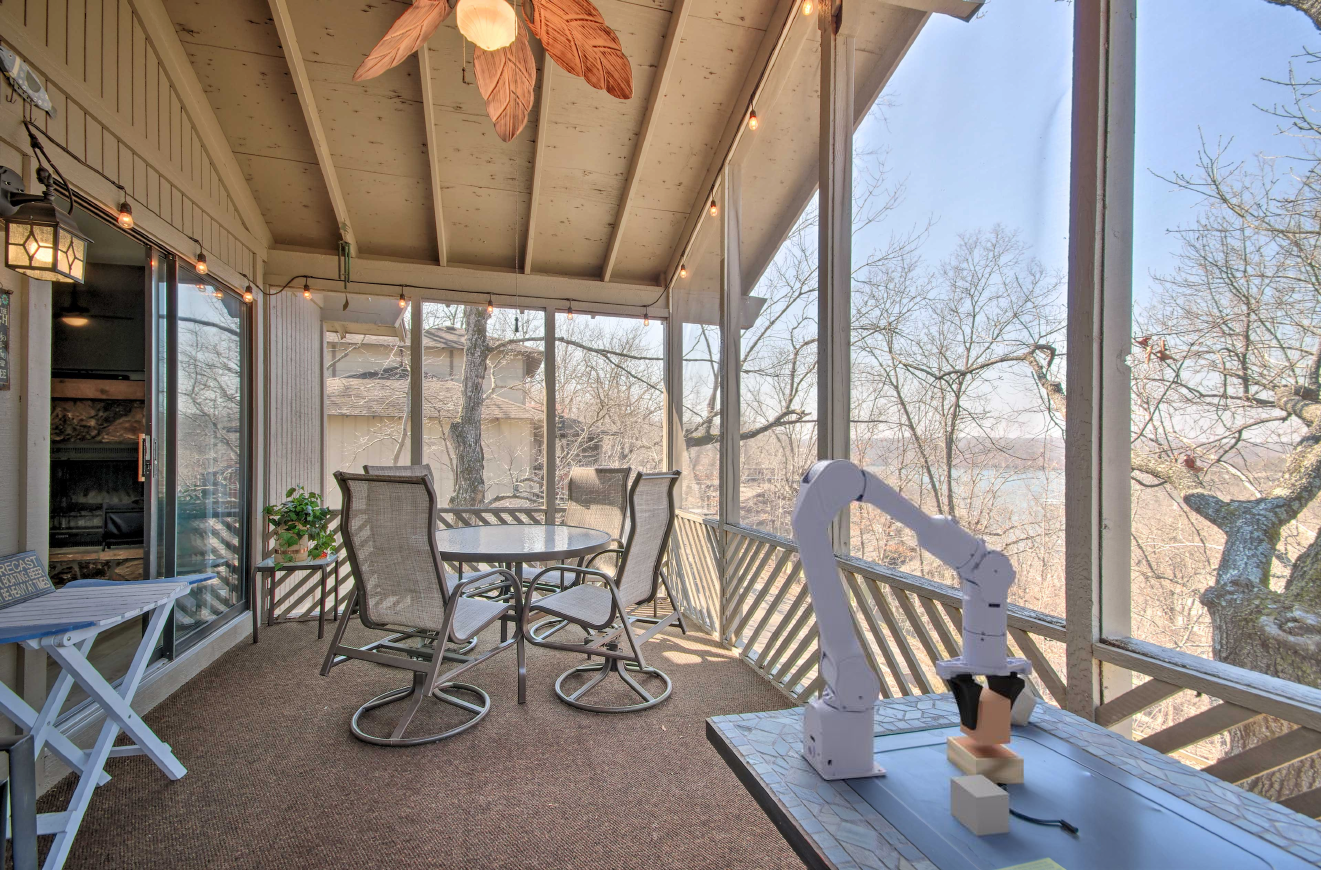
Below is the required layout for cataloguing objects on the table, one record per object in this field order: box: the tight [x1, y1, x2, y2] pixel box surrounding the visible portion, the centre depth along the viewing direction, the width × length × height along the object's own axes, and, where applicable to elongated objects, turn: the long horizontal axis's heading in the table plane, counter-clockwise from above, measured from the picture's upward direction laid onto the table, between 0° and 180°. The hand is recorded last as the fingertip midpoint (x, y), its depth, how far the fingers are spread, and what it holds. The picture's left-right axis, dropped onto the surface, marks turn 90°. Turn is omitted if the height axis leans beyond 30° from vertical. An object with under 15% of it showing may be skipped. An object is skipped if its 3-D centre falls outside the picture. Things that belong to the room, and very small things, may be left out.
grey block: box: [949, 775, 1010, 837], centre depth 73 cm, size 4×4×4 cm
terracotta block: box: [959, 688, 1011, 746], centre depth 86 cm, size 4×4×6 cm
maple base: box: [946, 735, 1025, 785], centre depth 86 cm, size 7×7×4 cm
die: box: [982, 674, 1038, 727], centre depth 103 cm, size 8×9×10 cm
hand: (983, 726), depth 86 cm, fingers closed on terracotta block, 4 cm apart
